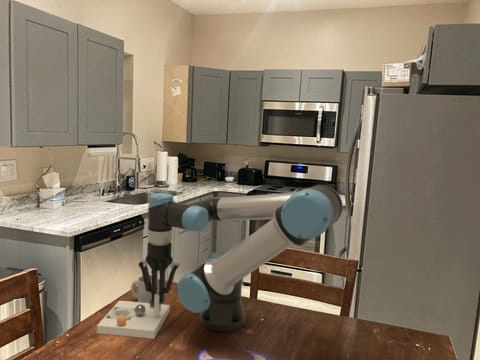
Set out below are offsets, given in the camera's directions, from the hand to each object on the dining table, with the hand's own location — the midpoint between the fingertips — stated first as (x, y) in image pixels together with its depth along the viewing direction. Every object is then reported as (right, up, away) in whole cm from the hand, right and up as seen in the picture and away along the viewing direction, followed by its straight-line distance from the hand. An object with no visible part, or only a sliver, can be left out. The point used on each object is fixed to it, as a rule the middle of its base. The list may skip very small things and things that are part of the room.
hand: (157, 312), depth 131 cm
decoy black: (-3, +1, +7) cm, 8 cm away
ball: (-6, +1, 0) cm, 6 cm away
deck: (-7, -4, +1) cm, 8 cm away
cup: (-8, -2, +16) cm, 18 cm away
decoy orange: (-10, 0, -6) cm, 12 cm away
